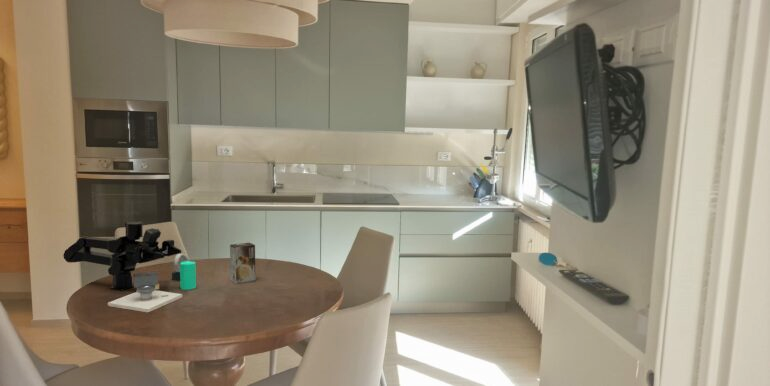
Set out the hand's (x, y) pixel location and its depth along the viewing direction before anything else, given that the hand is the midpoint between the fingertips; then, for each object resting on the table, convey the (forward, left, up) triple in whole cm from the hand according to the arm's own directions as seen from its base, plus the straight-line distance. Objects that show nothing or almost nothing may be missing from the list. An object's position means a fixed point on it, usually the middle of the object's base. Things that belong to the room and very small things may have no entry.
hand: (172, 253), depth 196 cm
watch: (-12, +19, -17) cm, 28 cm away
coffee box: (+14, +27, -17) cm, 35 cm away
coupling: (-4, -10, -12) cm, 16 cm away
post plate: (-4, -10, -17) cm, 20 cm away
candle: (-1, +10, -17) cm, 20 cm away
